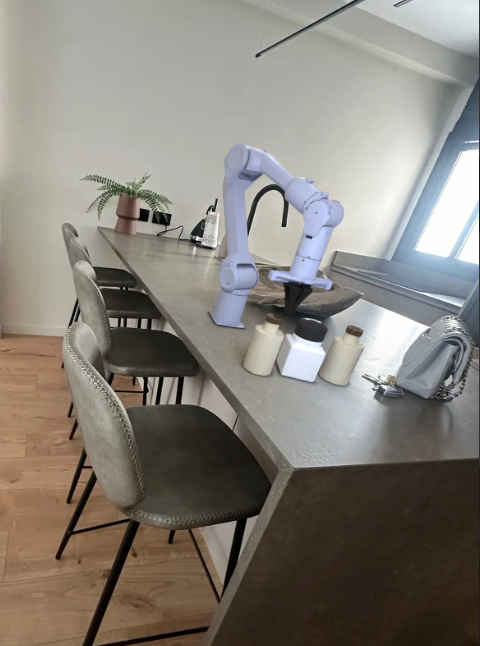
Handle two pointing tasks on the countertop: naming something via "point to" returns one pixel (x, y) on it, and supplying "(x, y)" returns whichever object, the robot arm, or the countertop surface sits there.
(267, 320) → the cream bottle near
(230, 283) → the robot arm
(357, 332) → the cream bottle far
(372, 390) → the countertop surface
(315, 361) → the medicine bottle
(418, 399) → the countertop surface
